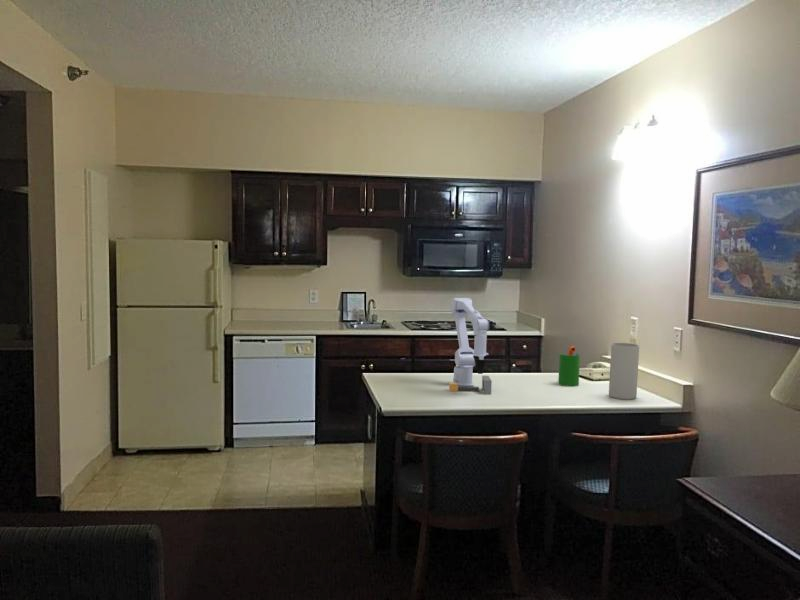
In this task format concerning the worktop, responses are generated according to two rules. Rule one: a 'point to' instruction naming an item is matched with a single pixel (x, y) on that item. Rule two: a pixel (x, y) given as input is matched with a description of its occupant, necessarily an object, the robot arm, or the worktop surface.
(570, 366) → the green upright cylinder
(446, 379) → the worktop surface
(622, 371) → the cylinder vase
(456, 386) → the plug
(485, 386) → the bracket
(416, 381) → the worktop surface
